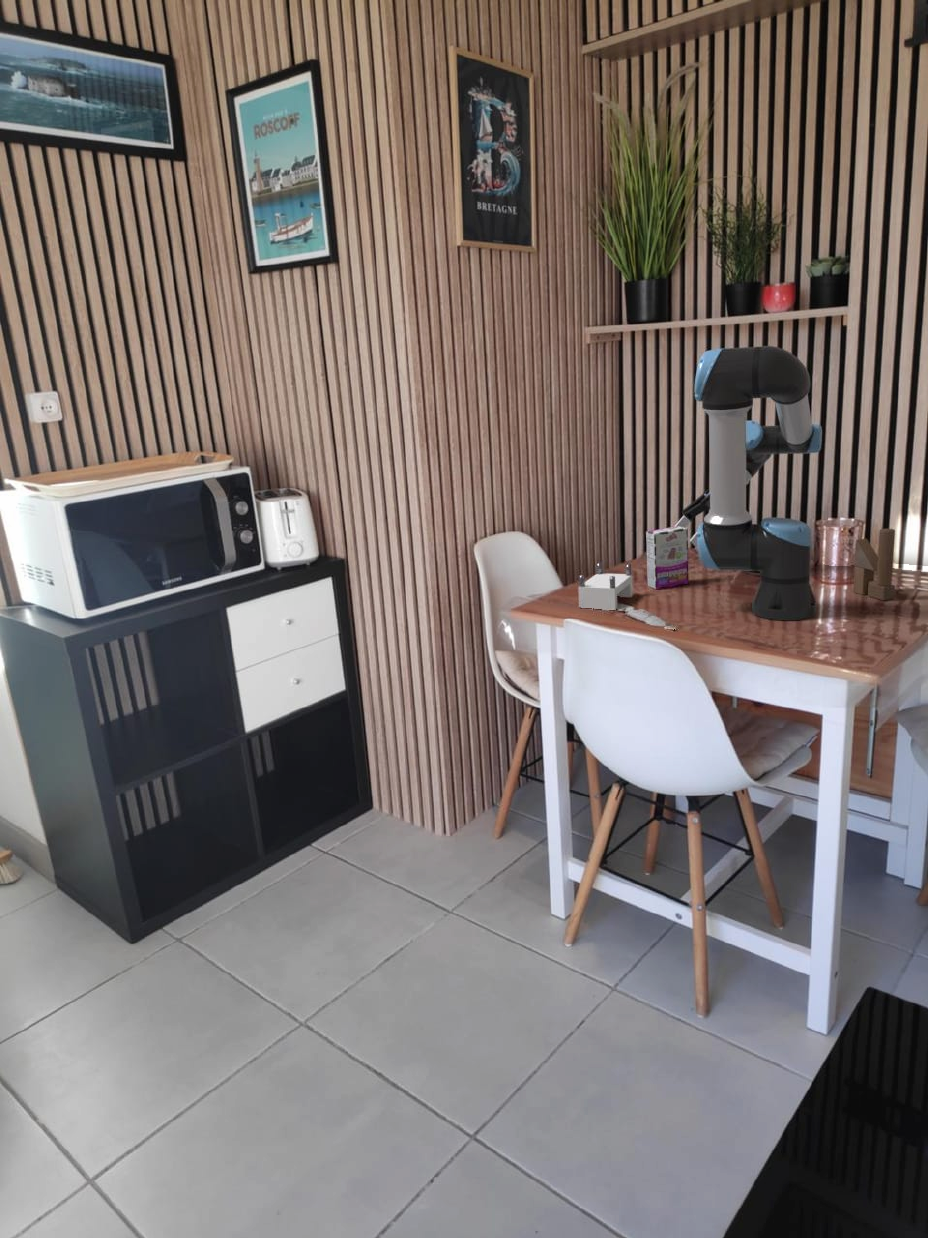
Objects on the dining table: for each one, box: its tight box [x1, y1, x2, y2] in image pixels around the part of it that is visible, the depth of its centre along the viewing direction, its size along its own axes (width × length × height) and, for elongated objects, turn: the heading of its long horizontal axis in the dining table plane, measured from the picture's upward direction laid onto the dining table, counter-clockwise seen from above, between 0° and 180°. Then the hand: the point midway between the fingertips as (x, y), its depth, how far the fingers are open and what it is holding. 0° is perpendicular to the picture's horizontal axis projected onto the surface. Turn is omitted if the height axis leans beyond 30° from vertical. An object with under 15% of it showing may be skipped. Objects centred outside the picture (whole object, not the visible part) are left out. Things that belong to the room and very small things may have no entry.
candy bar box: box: [645, 526, 690, 590], centre depth 258 cm, size 11×5×16 cm, turn 111°
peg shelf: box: [578, 562, 634, 611], centre depth 246 cm, size 10×16×9 cm, turn 153°
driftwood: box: [616, 602, 677, 631], centre depth 235 cm, size 37×5×2 cm, turn 22°
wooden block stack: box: [852, 528, 896, 601], centre depth 233 cm, size 4×11×18 cm, turn 20°
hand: (682, 539), depth 259 cm, fingers open, 13 cm apart
